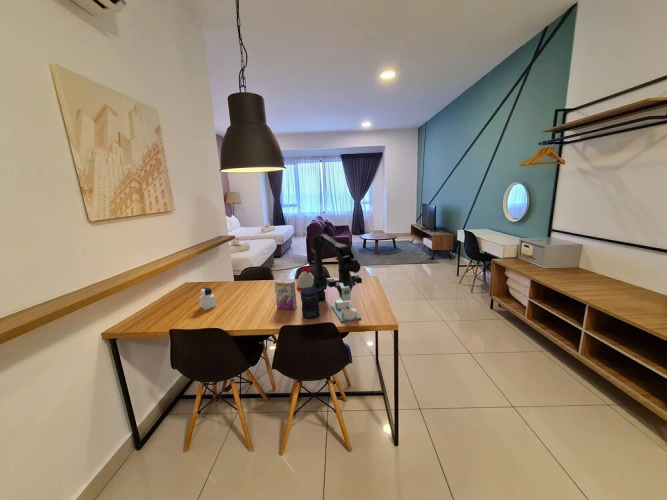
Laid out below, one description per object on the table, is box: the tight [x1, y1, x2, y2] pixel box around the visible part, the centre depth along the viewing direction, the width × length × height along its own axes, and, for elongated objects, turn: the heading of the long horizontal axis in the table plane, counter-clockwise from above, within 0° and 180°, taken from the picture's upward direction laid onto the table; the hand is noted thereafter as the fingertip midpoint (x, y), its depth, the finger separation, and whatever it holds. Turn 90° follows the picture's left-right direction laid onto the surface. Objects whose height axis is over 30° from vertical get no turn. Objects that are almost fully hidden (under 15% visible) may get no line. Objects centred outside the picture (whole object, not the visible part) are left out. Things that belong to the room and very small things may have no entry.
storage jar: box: [300, 287, 321, 320], centre depth 149 cm, size 10×10×15 cm
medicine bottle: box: [198, 287, 217, 311], centre depth 167 cm, size 7×7×12 cm
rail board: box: [331, 298, 362, 324], centre depth 150 cm, size 11×20×4 cm, turn 15°
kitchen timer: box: [296, 266, 315, 291], centre depth 193 cm, size 14×14×15 cm
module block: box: [338, 283, 352, 302], centre depth 148 cm, size 4×7×7 cm, turn 15°
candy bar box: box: [274, 279, 298, 311], centre depth 160 cm, size 11×5×16 cm, turn 71°
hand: (344, 295), depth 149 cm, fingers closed on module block, 4 cm apart
